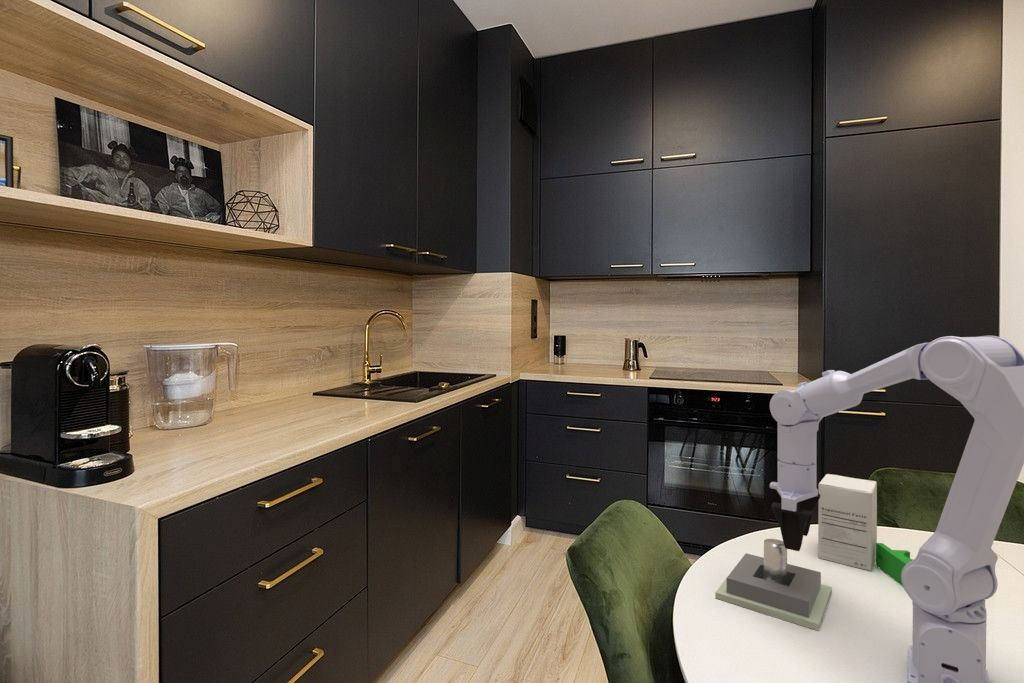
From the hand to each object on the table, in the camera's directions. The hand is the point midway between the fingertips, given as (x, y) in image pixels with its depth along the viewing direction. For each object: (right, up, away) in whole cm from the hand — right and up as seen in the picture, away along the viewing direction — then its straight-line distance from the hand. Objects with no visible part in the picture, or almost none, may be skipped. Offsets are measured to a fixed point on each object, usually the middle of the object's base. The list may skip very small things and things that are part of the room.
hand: (796, 541), depth 85 cm
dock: (-4, -9, 0) cm, 10 cm away
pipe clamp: (+22, -10, +5) cm, 25 cm away
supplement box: (+18, -9, +15) cm, 25 cm away
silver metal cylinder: (-3, -8, 0) cm, 9 cm away
